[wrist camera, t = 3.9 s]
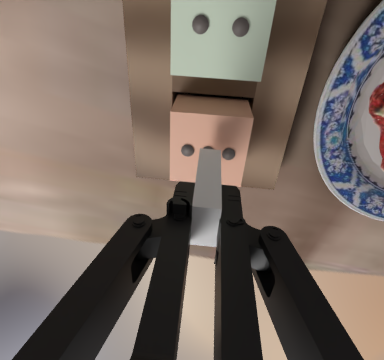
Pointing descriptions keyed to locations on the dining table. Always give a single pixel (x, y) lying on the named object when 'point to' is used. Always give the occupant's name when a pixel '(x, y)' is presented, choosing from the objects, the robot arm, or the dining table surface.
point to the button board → (218, 86)
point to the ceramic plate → (355, 121)
